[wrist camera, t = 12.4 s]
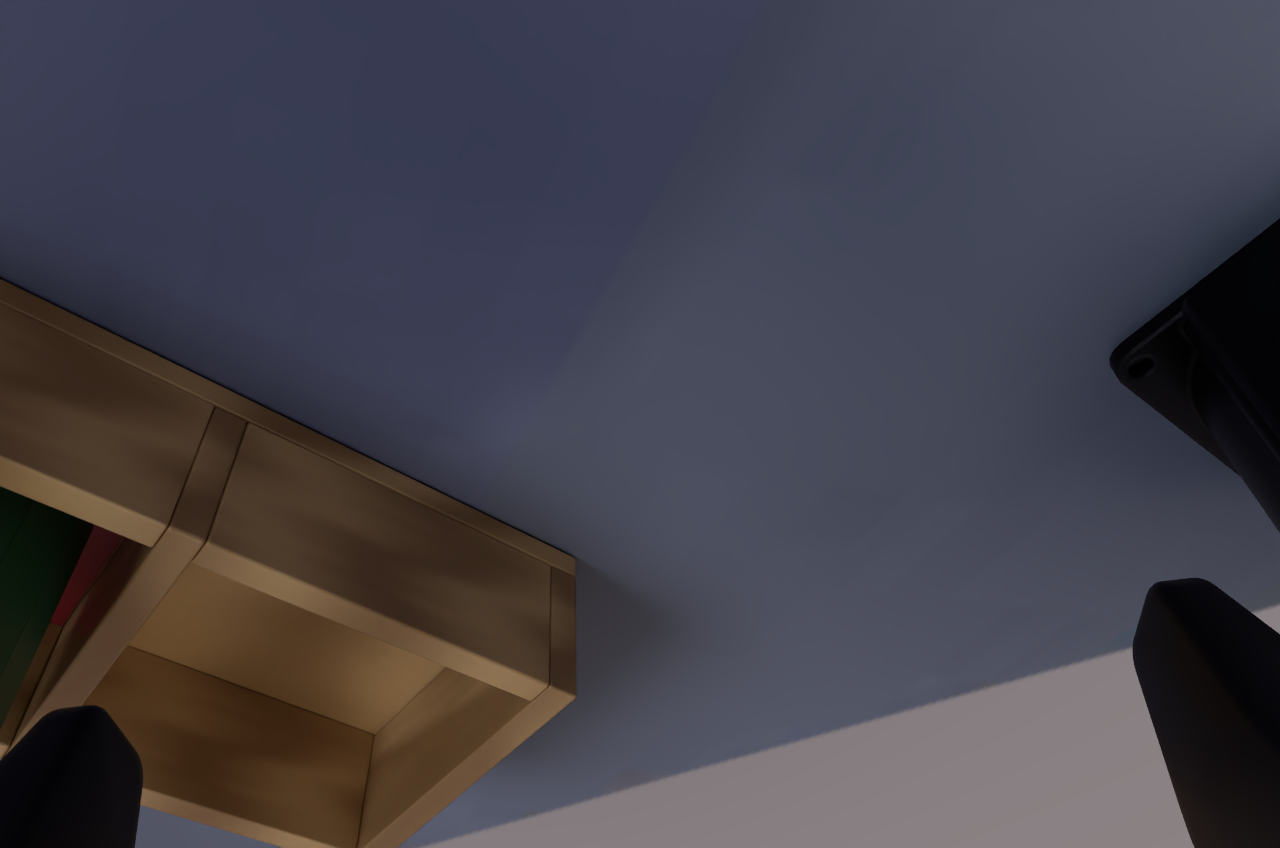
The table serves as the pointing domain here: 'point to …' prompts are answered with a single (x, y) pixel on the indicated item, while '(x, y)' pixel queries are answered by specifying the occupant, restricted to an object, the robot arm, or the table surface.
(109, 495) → the wooden divided tray
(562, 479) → the table surface
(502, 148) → the table surface
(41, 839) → the robot arm
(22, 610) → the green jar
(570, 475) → the table surface
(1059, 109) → the table surface
